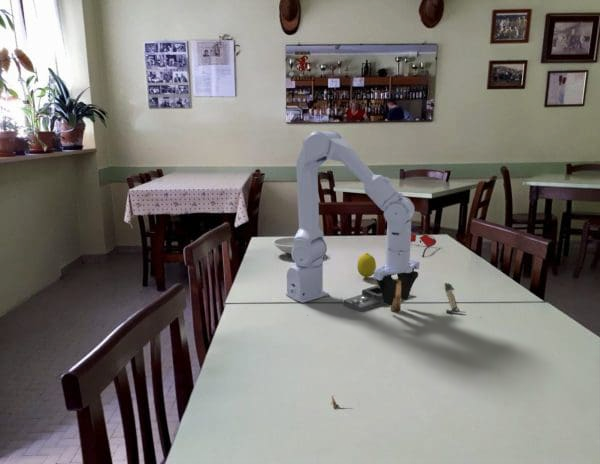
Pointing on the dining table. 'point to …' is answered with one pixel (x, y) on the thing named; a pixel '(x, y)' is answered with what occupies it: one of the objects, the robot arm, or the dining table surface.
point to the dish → (284, 244)
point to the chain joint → (366, 299)
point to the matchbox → (335, 403)
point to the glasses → (424, 241)
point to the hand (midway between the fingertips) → (395, 301)
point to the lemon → (366, 265)
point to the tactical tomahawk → (451, 300)
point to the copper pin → (397, 297)
